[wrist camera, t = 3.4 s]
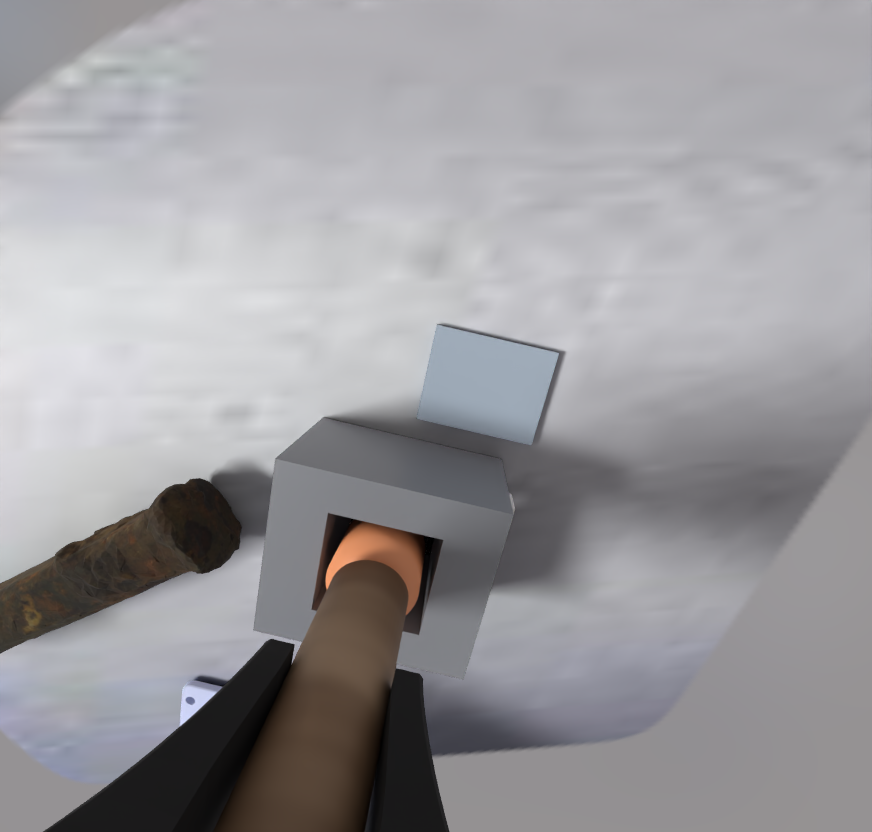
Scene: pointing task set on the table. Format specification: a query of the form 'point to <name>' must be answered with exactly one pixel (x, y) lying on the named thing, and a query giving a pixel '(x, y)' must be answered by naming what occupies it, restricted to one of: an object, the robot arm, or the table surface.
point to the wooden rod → (327, 714)
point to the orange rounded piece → (383, 553)
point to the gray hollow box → (392, 507)
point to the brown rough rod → (121, 561)
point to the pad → (486, 384)
